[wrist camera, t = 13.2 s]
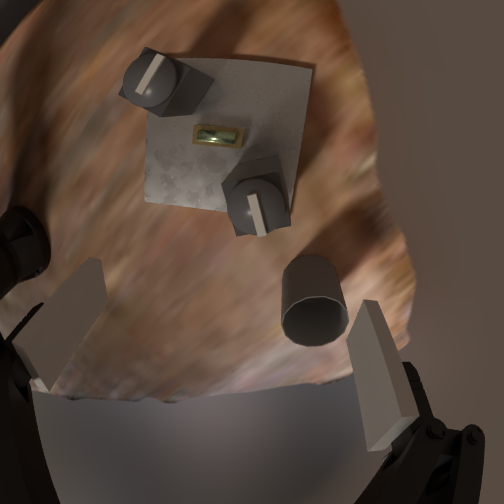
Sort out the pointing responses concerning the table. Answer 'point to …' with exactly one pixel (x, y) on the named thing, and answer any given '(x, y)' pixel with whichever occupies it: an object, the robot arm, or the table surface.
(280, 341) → the table surface
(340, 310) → the cup
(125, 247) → the table surface
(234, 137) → the bubble vial
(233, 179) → the knob
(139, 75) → the knob
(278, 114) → the base plate
